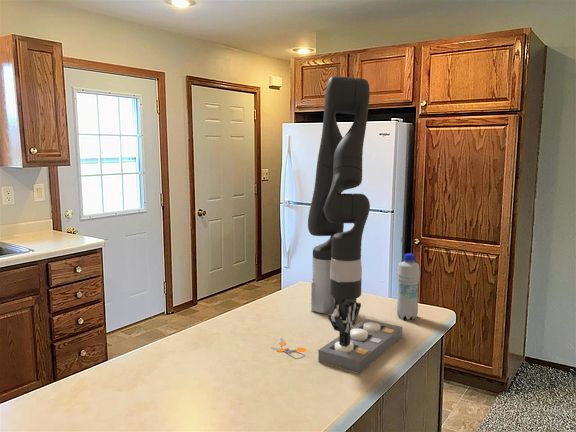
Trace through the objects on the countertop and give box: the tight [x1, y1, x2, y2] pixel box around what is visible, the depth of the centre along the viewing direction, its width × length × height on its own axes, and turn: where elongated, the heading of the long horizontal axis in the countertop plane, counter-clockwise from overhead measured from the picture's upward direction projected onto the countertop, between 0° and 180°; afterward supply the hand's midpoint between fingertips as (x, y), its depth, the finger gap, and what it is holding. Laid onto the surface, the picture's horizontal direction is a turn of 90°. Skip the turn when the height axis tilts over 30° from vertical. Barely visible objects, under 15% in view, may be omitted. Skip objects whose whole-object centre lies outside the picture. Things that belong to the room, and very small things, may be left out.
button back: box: [363, 322, 381, 333], centre depth 131 cm, size 5×5×2 cm
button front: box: [335, 342, 354, 354], centre depth 118 cm, size 5×5×2 cm
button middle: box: [350, 329, 368, 343], centre depth 124 cm, size 5×5×2 cm
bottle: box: [396, 252, 421, 321], centre depth 146 cm, size 7×7×20 cm
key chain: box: [270, 337, 308, 360], centre depth 124 cm, size 13×7×1 cm, turn 41°
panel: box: [317, 318, 403, 374], centre depth 124 cm, size 26×11×3 cm, turn 145°
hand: (344, 345), depth 117 cm, fingers closed
